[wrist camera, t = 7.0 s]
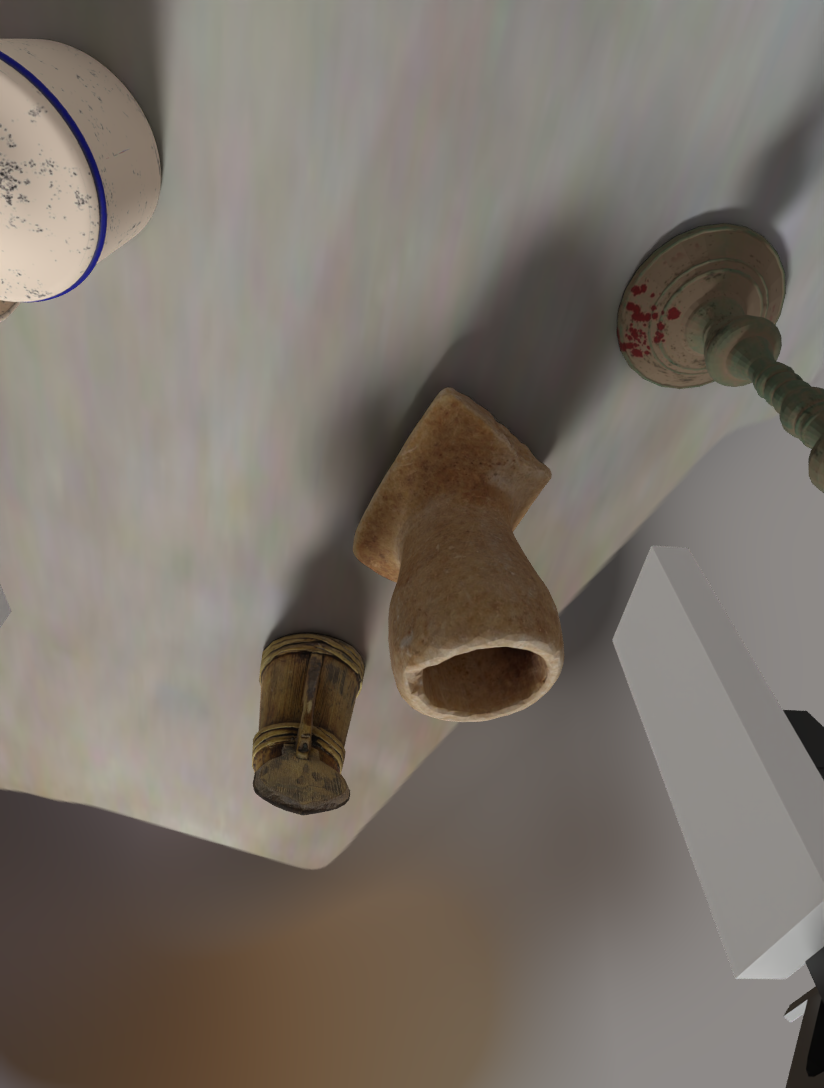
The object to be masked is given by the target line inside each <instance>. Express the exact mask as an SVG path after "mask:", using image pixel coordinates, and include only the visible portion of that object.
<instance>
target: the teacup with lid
mask: <svg viewBox="0 0 824 1088" xmlns="http://www.w3.org/2000/svg"><path fill="white" fill-rule="evenodd" d="M160 187H161V167H160V159H159V153H158V149H157V145H156V142H155V138H154V136H153V133H152V130H151V128H150V125H149V123H148V121H147V119H146V117H145V115H144V113H143V111H142V110H141V108H140V106H139V105H138V103H137V102H136V100H135V99H134V97H133V96H132V95H131V93H130V92H129V91H128V89H127V88H126V87H125V86H124V85H123V84H122V82H121V81H120V80H119V79H118V78H117V77H116V76H115V75H114V74H113V73H112V72H111V71H109V70H108V69H107V68H106V67H105V66H104V65H102V64H101V63H100V62H98V61H97V60H95V59H94V58H92V57H91V56H89V55H87V54H86V53H84V52H82V51H80V50H78V49H76V48H74V47H71V46H69V45H66V44H63V43H60V42H56V41H52V40H45V39H0V322H2V321H3V320H5V319H6V318H7V317H8V316H9V315H10V314H11V313H12V312H13V311H14V310H15V309H16V308H17V307H18V305H19V304H20V303H21V302H39V301H45V300H50V299H53V298H56V297H59V296H61V295H63V294H66V293H68V292H69V291H71V290H72V289H74V288H76V287H77V286H78V285H79V284H80V283H82V282H83V281H84V280H85V279H86V277H87V276H88V275H89V274H90V273H91V271H92V270H93V268H94V267H95V265H96V264H97V263H99V262H100V261H101V260H103V259H104V258H106V257H107V256H108V255H110V254H111V253H112V252H114V251H115V250H117V249H118V248H119V247H121V246H122V245H124V244H125V243H126V242H128V241H129V240H130V239H132V238H133V237H135V236H136V235H137V234H138V233H139V232H140V231H141V230H142V229H143V228H144V227H145V226H146V224H147V223H148V222H149V220H150V218H151V216H152V215H153V213H154V210H155V208H156V205H157V202H158V198H159V194H160Z"/></svg>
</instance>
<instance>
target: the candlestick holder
mask: <svg viewBox="0 0 824 1088" xmlns="http://www.w3.org/2000/svg"><path fill="white" fill-rule="evenodd" d="M785 294H786V292H785V271H784V269H783V266H782V263H781V261H780V258H779V255H778V253H777V251H776V250H775V249H774V248H773V247H772V246H771V245H770V243H769V242H768V241H767V240H766V239H765V238H764V236H762V235H760V234H758V233H756V232H754V231H753V230H751V229H749V228H747V227H744V226H738V225H732V224H725V223H722V224H715V225H708V226H700V227H698V228H695V229H693V230H690V231H688V232H685V233H683V234H680V235H678V236H676V237H674V238H673V239H671V240H670V241H668V242H667V243H666V244H664V245H663V246H661V247H660V248H658V249H657V250H655V252H654V253H653V254H652V255H651V256H650V257H649V258H648V259H647V260H646V261H645V262H644V263H643V264H642V265H641V266H640V267H639V268H638V270H637V272H636V273H635V275H634V277H633V278H632V280H631V281H630V283H629V285H628V286H627V288H626V290H625V293H624V296H623V299H622V302H621V305H620V308H619V311H618V322H617V336H618V341H619V346H620V351H621V352H622V354H623V356H624V358H625V360H626V361H627V363H628V365H629V366H630V367H631V368H632V369H633V370H634V371H635V372H636V373H637V374H639V375H640V376H641V377H642V378H643V379H645V380H647V381H650V382H652V383H654V384H656V385H659V386H661V387H669V388H677V389H683V388H692V387H700V386H703V385H705V384H708V383H711V382H714V381H716V382H717V383H719V384H722V385H724V386H731V387H737V386H744V385H747V384H750V383H752V382H753V385H754V387H755V389H756V390H757V393H758V395H759V396H760V397H762V398H764V399H766V401H767V402H768V403H769V404H770V405H771V406H773V407H774V409H775V410H776V411H777V412H778V413H779V414H780V421H781V423H782V426H783V428H784V429H785V431H787V432H788V433H789V434H791V435H792V436H794V437H796V438H799V439H800V440H801V441H802V442H803V444H804V445H805V446H807V447H809V448H811V449H812V450H811V453H810V456H809V477H810V479H811V482H812V483H813V484H814V485H815V486H816V487H817V488H818V489H819V490H820V491H822V492H823V493H824V389H822V388H817V387H811V386H810V385H809V384H808V383H806V382H804V381H803V380H802V379H801V377H800V376H799V375H797V374H795V373H794V370H793V369H792V368H791V367H788V366H786V365H785V364H782V363H780V362H776V360H777V358H778V356H779V354H780V350H781V346H782V344H781V335H780V332H779V330H778V328H777V327H776V326H775V325H776V323H777V321H778V319H779V317H780V315H781V310H782V306H783V302H784V298H785Z"/></svg>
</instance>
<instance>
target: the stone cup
mask: <svg viewBox="0 0 824 1088" xmlns="http://www.w3.org/2000/svg"><path fill="white" fill-rule="evenodd" d="M551 475H552V474H551V471H550V469H549V468H548V467H547V466H546V465H545V464H543V463H541V462H539V461H538V460H537V459H536V458H535V457H534V455H533V454H532V453H531V451H530V450H529V448H528V447H527V446H526V445H525V444H522V443H520V441H519V440H518V439H517V438H516V437H515V436H514V435H512V434H511V433H510V432H509V430H508V429H507V428H506V427H505V426H504V425H502V424H500V423H498V422H496V421H495V419H494V418H493V416H492V415H491V413H490V412H489V411H487V410H486V409H484V408H483V407H482V406H480V405H478V404H476V403H475V402H474V401H473V400H472V399H471V398H469V397H468V396H465V395H463V394H461V393H459V392H457V391H456V390H454V389H453V388H450V387H449V388H444V389H443V390H442V391H440V392H439V393H438V395H437V396H436V397H435V399H434V400H433V402H432V403H431V404H430V406H429V407H428V409H427V410H426V412H425V413H424V415H423V417H422V418H421V420H420V421H419V422H418V423H417V425H416V426H415V428H414V429H413V431H412V432H411V434H410V436H409V437H408V439H407V440H406V442H405V444H404V445H403V447H402V449H401V451H400V452H399V454H398V456H397V458H396V459H395V461H394V462H393V464H392V465H391V467H390V468H389V470H388V472H387V473H386V475H385V476H384V478H383V480H382V482H381V483H380V485H379V487H378V488H377V490H376V492H375V493H374V495H373V497H372V499H371V501H370V503H369V505H368V507H367V509H366V511H365V513H364V515H363V517H362V519H361V521H360V522H359V525H358V527H357V529H356V532H355V537H354V542H353V553H354V555H355V556H356V558H357V559H358V560H359V561H360V562H362V563H363V564H365V565H366V566H367V567H369V568H370V569H372V570H373V571H375V572H376V573H378V574H380V575H381V576H383V577H385V578H387V579H389V580H392V581H394V582H397V584H396V587H395V590H394V592H393V596H392V599H391V602H390V608H389V636H388V641H389V650H390V658H391V665H392V670H393V674H394V677H395V681H396V685H397V688H398V690H399V692H400V694H401V696H402V698H403V699H404V700H405V701H406V702H407V703H408V704H409V705H410V706H411V707H412V708H413V709H415V710H417V711H419V712H420V713H422V714H424V715H427V716H430V717H434V718H437V719H440V720H447V721H457V722H479V721H486V720H490V719H494V718H498V717H502V716H507V715H509V714H512V713H514V712H517V711H520V710H523V709H525V708H527V707H528V706H530V705H532V704H533V703H535V702H536V701H537V700H538V699H540V698H541V697H542V696H543V695H544V694H545V693H546V692H548V691H549V690H550V688H551V687H552V686H553V684H554V683H555V682H556V680H557V678H558V677H559V675H560V672H561V669H562V666H563V661H564V647H563V646H564V645H563V637H562V631H561V625H560V621H559V616H558V612H557V608H556V605H555V603H554V601H553V599H552V597H551V595H550V592H549V590H548V589H547V587H546V585H545V584H544V582H543V581H542V580H541V578H540V577H539V576H538V574H537V573H536V571H535V570H534V568H533V567H532V565H531V563H530V562H529V560H528V559H527V557H526V556H525V554H524V552H523V550H522V549H521V547H520V545H519V543H518V542H517V540H516V538H515V536H514V534H513V531H514V530H515V528H516V527H517V525H518V524H519V522H520V521H521V520H522V518H523V517H524V515H525V514H526V512H527V511H528V509H529V508H530V506H531V505H532V503H533V502H534V501H535V499H536V498H537V496H538V495H539V494H540V492H541V491H542V489H543V488H544V487H545V485H546V484H547V483H548V482H549V480H550V479H551Z"/></svg>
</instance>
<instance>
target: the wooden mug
mask: <svg viewBox="0 0 824 1088" xmlns="http://www.w3.org/2000/svg"><path fill="white" fill-rule="evenodd" d="M363 677H364V664H363V661H362V658H361V656H360V654H359V653H358V652H357V651H356V650H355V649H354V648H353V647H352V646H350V645H348V644H347V643H345V642H343V641H341V640H338V639H335V638H333V637H330V636H326V635H319V634H315V633H298V634H292V635H287V636H284V637H282V638H279V639H277V640H274V641H273V642H272V643H271V644H270V645H269V646H268V647H267V648H266V649H265V650H264V651H263V654H262V661H261V668H260V678H259V682H260V685H261V700H260V717H259V732H258V733H257V734H256V735H255V737H254V739H253V755H252V767H253V769H254V772H255V775H254V780H253V787H254V791H255V793H256V794H257V795H258V796H260V797H261V798H262V799H264V800H265V801H267V802H269V803H270V804H272V805H274V806H276V807H278V808H281V809H283V810H286V811H289V812H293V813H296V814H300V815H309V814H315V813H320V812H325V811H330V810H334V809H337V808H339V807H341V806H343V805H345V804H346V802H347V801H348V800H349V797H350V790H349V788H348V785H347V783H346V781H345V779H344V778H343V776H342V775H341V771H342V767H343V763H344V759H345V749H344V746H345V741H346V737H347V733H348V729H349V725H350V721H351V716H352V712H353V708H354V704H355V700H356V698H357V696H358V695H359V693H360V691H361V688H362V682H363Z"/></svg>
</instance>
